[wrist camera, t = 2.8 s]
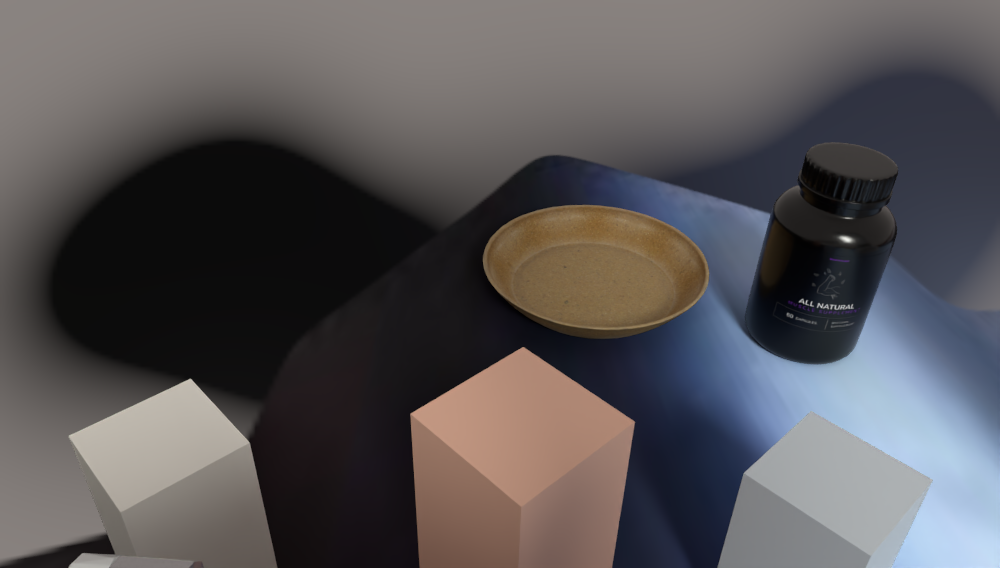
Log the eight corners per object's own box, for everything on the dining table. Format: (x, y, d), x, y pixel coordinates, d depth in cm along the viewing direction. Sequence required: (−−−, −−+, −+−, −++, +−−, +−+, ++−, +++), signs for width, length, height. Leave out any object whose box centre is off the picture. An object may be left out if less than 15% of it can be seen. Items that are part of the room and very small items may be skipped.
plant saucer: (662, 391, 46) (668, 356, 45) (441, 316, 52) (440, 283, 50) (727, 268, 57) (734, 236, 56) (539, 217, 62) (541, 187, 61)
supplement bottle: (797, 381, 47) (853, 199, 40) (720, 318, 52) (758, 146, 45) (881, 349, 49) (946, 172, 43) (800, 291, 54) (847, 125, 47)
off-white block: (223, 504, 39) (190, 378, 34) (278, 571, 36) (249, 442, 31) (119, 565, 36) (68, 436, 31) (169, 642, 33) (120, 512, 28)
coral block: (512, 575, 36) (523, 347, 28) (598, 654, 33) (634, 421, 25) (424, 647, 33) (410, 413, 25) (509, 740, 30) (521, 507, 22)
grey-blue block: (770, 536, 38) (811, 411, 33) (872, 607, 35) (932, 480, 30) (708, 600, 35) (743, 473, 30) (814, 683, 32) (871, 556, 27)
